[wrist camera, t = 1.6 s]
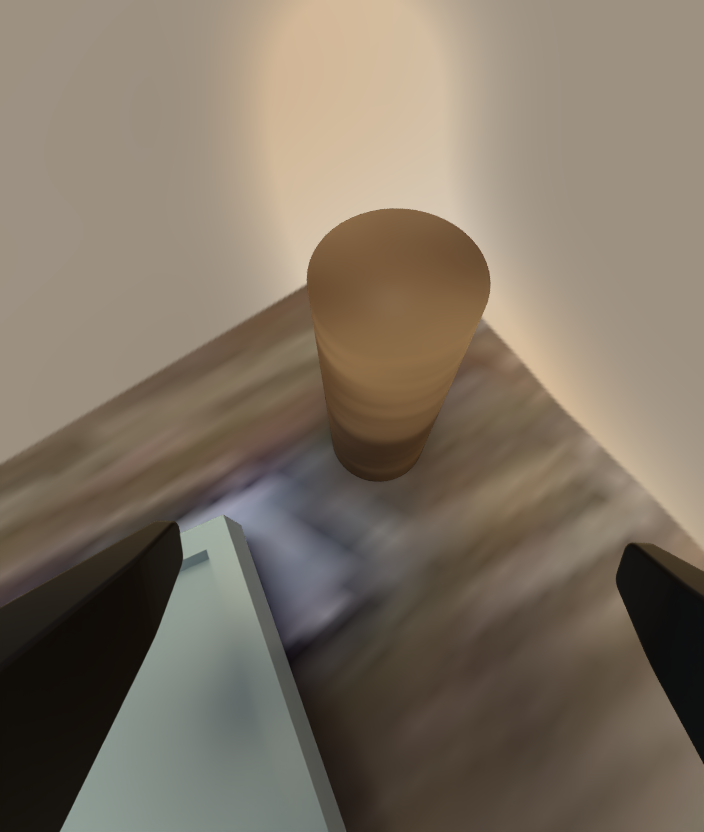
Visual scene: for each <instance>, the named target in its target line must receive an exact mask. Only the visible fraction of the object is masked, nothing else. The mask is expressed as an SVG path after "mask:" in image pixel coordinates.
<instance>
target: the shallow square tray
mask: <svg viewBox="0 0 704 832" xmlns="http://www.w3.org/2000/svg"><path fill="white" fill-rule="evenodd" d="M180 536H181V543H182V549H183V562H182V566H181V569H180V572H179V575H178V577H177V580H176V583H175V585H174V588H173V591H172V594H171V596H170V599H169V602H168V605H167V607H166V610H165V613H164V615H163V618H162V621H161V624H160V626H159V629H158V631H157V634H156V636H155V639H154V641H153V643H152V645H151V647H150V649H149V651H148V653H147V655H146V658H145V660H144V662H143V664H142V666H141V668H140V670H139V672H138V674H137V676H136V678H135V680H134V682H133V684H132V686H131V688H130V690H129V692H128V694H127V696H126V698H125V700H124V702H123V704H122V706H121V709H120V711H119V713H118V715H117V717H116V719H115V721H114V723H113V725H112V727H111V729H110V731H109V733H108V735H107V737H106V739H105V741H104V743H103V745H102V747H101V749H100V751H99V753H98V755H97V757H96V760H95V762H94V764H93V766H92V768H91V770H90V772H89V774H88V776H87V778H86V780H85V782H84V784H83V786H82V788H81V790H80V792H79V794H78V796H77V798H76V800H75V802H74V804H73V806H72V808H71V811H70V813H69V815H68V817H67V819H66V821H65V823H64V825H63V827H62V829H61V831H60V832H347V831H346V828H345V826H344V823H343V820H342V817H341V814H340V811H339V808H338V805H337V802H336V799H335V797H334V794H333V791H332V788H331V785H330V782H329V779H328V776H327V773H326V770H325V768H324V765H323V762H322V759H321V756H320V753H319V750H318V747H317V744H316V741H315V739H314V736H313V733H312V730H311V727H310V724H309V721H308V718H307V715H306V712H305V710H304V707H303V704H302V701H301V698H300V695H299V692H298V689H297V686H296V683H295V681H294V678H293V675H292V672H291V669H290V666H289V663H288V660H287V657H286V654H285V652H284V649H283V646H282V643H281V640H280V637H279V634H278V631H277V628H276V625H275V623H274V620H273V617H272V614H271V611H270V608H269V605H268V602H267V599H266V596H265V594H264V591H263V588H262V585H261V582H260V579H259V576H258V573H257V570H256V567H255V565H254V562H253V559H252V556H251V553H250V550H249V547H248V544H247V541H246V538H245V536H244V533H243V530H242V527H241V525H240V524H238V523H236V522H235V521H233V520H231V519H230V518H228V517H226V516H225V515H221V516H219V517H217V518H214V519H212V520H210V521H208V522H205V523H203V524H201V525H198V526H196V527H194V528H192V529H189V530H187V531H185V532H182V533H180Z"/></svg>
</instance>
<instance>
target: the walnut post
mask: <svg viewBox="0 0 704 832" xmlns="http://www.w3.org/2000/svg"><path fill="white" fill-rule="evenodd" d="M307 289H308V295H309V301H310V307H311V313H312V319H313V325H314V331H315V338H316V344H317V350H318V356H319V362H320V368H321V374H322V380H323V386H324V393H325V399H326V405H327V411H328V417H329V423H330V429H331V435H332V442H333V447H334V451H335V453H336V456H337V457H338V459H339V461H340V462H341V464H342V465H343V466H344V467H345V468H346V469H347V470H348V471H349V472H351V473H352V474H354V475H355V476H357V477H360V478H362V479H365V480H369V481H388V480H392V479H395V478H398V477H400V476H401V475H403V474H405V473H406V472H407V471H409V470H410V469H411V468H412V467H413V465H414V464H415V463H416V461H417V460H418V458H419V456H420V454H421V451H422V449H423V447H424V445H425V442H426V440H427V438H428V436H429V433H430V431H431V429H432V427H433V424H434V422H435V420H436V418H437V415H438V413H439V411H440V409H441V406H442V404H443V402H444V400H445V397H446V395H447V393H448V391H449V388H450V386H451V384H452V382H453V379H454V377H455V375H456V373H457V370H458V368H459V366H460V364H461V361H462V359H463V357H464V355H465V352H466V350H467V348H468V346H469V343H470V341H471V339H472V337H473V334H474V332H475V330H476V328H477V326H478V323H479V321H480V319H481V317H482V314H483V312H484V310H485V307H486V305H487V302H488V298H489V294H490V274H489V270H488V266H487V263H486V261H485V258H484V256H483V254H482V253H481V251H480V249H479V248H478V246H477V245H476V244H475V243H474V241H473V240H472V239H471V238H470V237H469V236H468V235H467V234H466V233H464V232H463V231H462V230H461V229H459V228H458V227H457V226H455V225H453V224H452V223H450V222H448V221H446V220H444V219H442V218H440V217H437V216H435V215H432V214H429V213H426V212H421V211H417V210H410V209H381V210H376V211H370V212H367V213H363V214H360V215H357V216H355V217H352V218H350V219H348V220H346V221H344V222H343V223H341V224H339V225H338V226H336V227H335V228H334V229H332V230H331V231H330V232H329V233H328V234H327V235H326V236H325V237H324V238H323V239H322V241H321V242H320V243H319V244H318V246H317V247H316V249H315V251H314V252H313V255H312V257H311V259H310V262H309V266H308V272H307Z"/></svg>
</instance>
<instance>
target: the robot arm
mask: <svg viewBox="0 0 704 832" xmlns="http://www.w3.org/2000/svg"><path fill="white" fill-rule="evenodd" d="M182 562H183V549H182V543H181V536H180V530H179V526H178V524H177V523H176V522H175V521H154V522H152V523H151V524H149V525H147V526H145V527H143V528H142V529H140V530H138V531H136V532H135V533H133V534H131V535H129V536H127V537H126V538H124V539H122V540H120V541H118V542H117V543H115V544H113V545H111V546H109V547H108V548H106V549H104V550H102V551H100V552H99V553H97V554H95V555H93V556H91V557H90V558H88V559H86V560H84V561H83V562H81V563H79V564H77V565H75V566H74V567H72V568H70V569H68V570H66V571H65V572H63V573H61V574H59V575H57V576H56V577H54V578H52V579H50V580H48V581H47V582H45V583H43V584H41V585H39V586H38V587H36V588H34V589H32V590H30V591H29V592H27V593H25V594H23V595H22V596H20V597H18V598H16V599H14V600H13V601H11V602H9V603H7V604H5V605H4V606H2V607H0V832H60V831H61V829H62V827H63V825H64V823H65V821H66V819H67V817H68V815H69V813H70V811H71V808H72V806H73V804H74V802H75V800H76V798H77V796H78V794H79V792H80V790H81V788H82V786H83V784H84V782H85V780H86V778H87V776H88V774H89V772H90V770H91V768H92V766H93V764H94V762H95V760H96V757H97V755H98V753H99V751H100V749H101V747H102V745H103V743H104V741H105V739H106V737H107V735H108V733H109V731H110V729H111V727H112V725H113V723H114V721H115V719H116V717H117V715H118V713H119V711H120V709H121V706H122V704H123V702H124V700H125V698H126V696H127V694H128V692H129V690H130V688H131V686H132V684H133V682H134V680H135V678H136V676H137V674H138V672H139V670H140V668H141V666H142V664H143V662H144V660H145V658H146V655H147V653H148V651H149V649H150V647H151V645H152V643H153V641H154V639H155V636H156V634H157V631H158V629H159V626H160V624H161V621H162V618H163V615H164V613H165V610H166V607H167V605H168V602H169V599H170V596H171V594H172V591H173V588H174V585H175V583H176V580H177V577H178V575H179V572H180V569H181V566H182ZM616 584H617V588H618V590H619V593H620V595H621V597H622V600H623V602H624V605H625V607H626V609H627V612H628V614H629V616H630V619H631V621H632V623H633V626H634V628H635V630H636V633H637V635H638V638H639V640H640V642H641V645H642V647H643V649H644V652H645V654H646V656H647V658H648V660H649V663H650V665H651V667H652V669H653V671H654V673H655V674H656V676H657V678H658V680H659V682H660V684H661V686H662V688H663V689H664V691H665V693H666V695H667V697H668V699H669V701H670V702H671V704H672V706H673V708H674V710H675V712H676V714H677V715H678V717H679V719H680V721H681V723H682V725H683V727H684V728H685V730H686V732H687V734H688V736H689V738H690V740H691V741H692V743H693V745H694V747H695V749H696V751H697V753H698V754H699V756H700V758H701V760H702V762H703V764H704V571H702V570H700V569H698V568H696V567H695V566H693V565H691V564H689V563H687V562H685V561H683V560H682V559H680V558H678V557H676V556H674V555H672V554H671V553H669V552H667V551H665V550H663V549H661V548H659V547H658V546H656V545H654V544H650V543H629V544H628V545H627V546H626V547H625V549H624V552H623V555H622V558H621V562H620V565H619V568H618V571H617V574H616Z"/></svg>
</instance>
